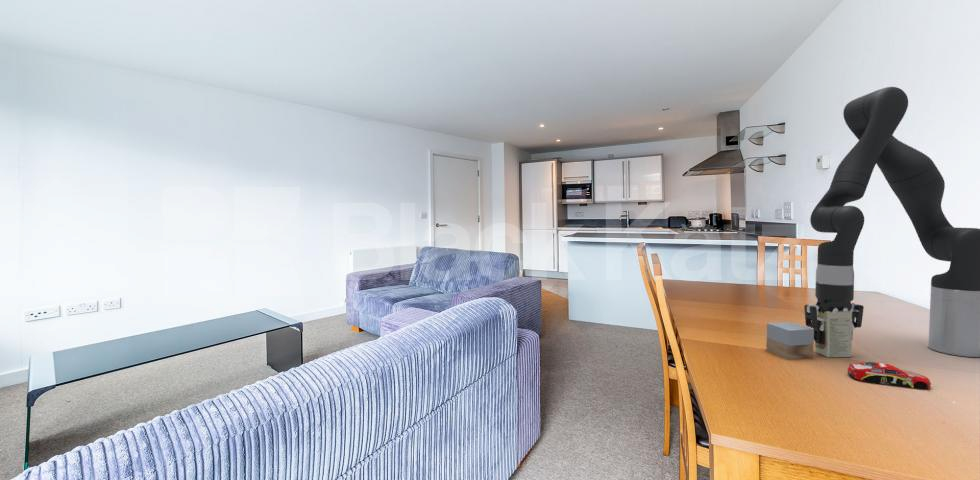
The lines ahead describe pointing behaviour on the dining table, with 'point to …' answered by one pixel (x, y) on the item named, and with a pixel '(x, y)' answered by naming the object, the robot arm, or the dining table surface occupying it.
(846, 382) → the dining table surface
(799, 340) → the top block
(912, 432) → the dining table surface
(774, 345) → the bottom block
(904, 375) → the race car
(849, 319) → the skincare box
